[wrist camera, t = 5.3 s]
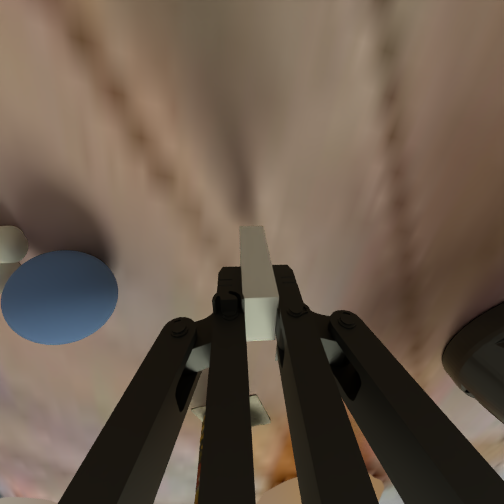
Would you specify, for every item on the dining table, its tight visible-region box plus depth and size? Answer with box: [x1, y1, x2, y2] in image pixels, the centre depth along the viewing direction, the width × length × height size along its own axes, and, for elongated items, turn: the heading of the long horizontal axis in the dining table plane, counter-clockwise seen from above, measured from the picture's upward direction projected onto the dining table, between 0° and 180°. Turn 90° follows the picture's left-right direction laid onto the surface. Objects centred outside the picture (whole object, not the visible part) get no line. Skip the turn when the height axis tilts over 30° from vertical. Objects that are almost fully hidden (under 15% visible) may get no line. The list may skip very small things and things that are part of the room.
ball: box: [1, 250, 118, 345], centre depth 16 cm, size 6×6×6 cm
